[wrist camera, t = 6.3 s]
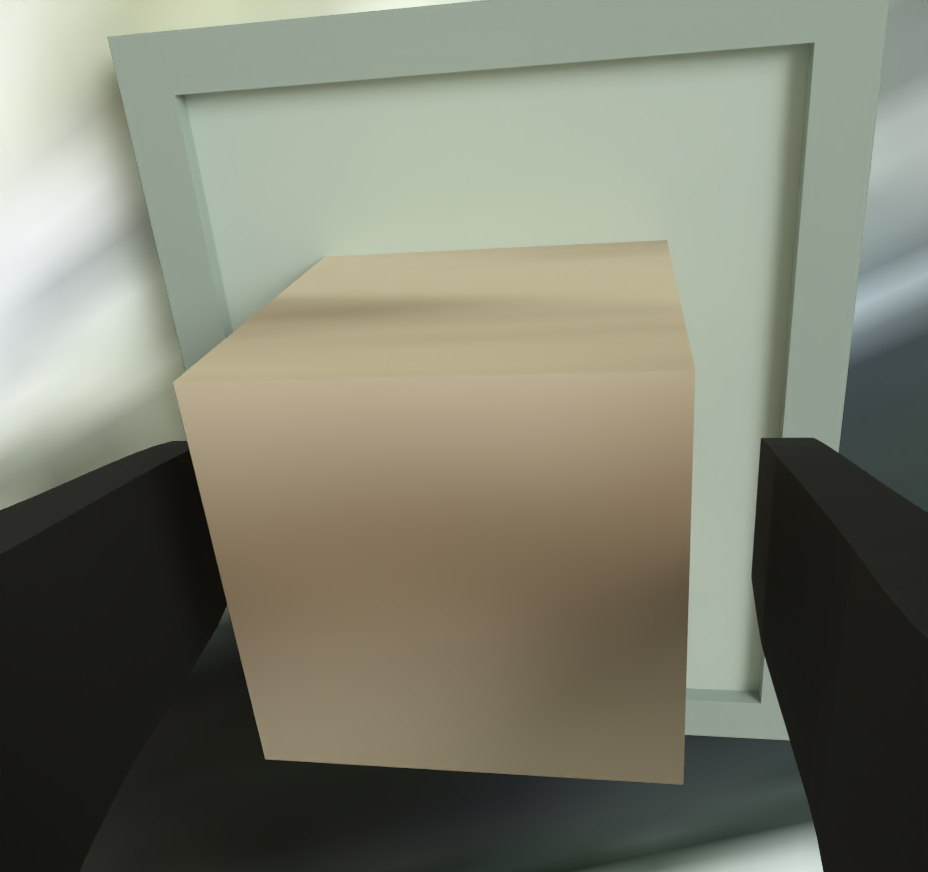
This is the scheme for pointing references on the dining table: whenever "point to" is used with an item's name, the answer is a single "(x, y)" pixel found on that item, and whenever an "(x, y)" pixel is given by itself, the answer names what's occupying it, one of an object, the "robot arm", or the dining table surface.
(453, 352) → the maple cube
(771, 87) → the grey green picture frame
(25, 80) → the dining table surface
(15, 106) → the dining table surface
